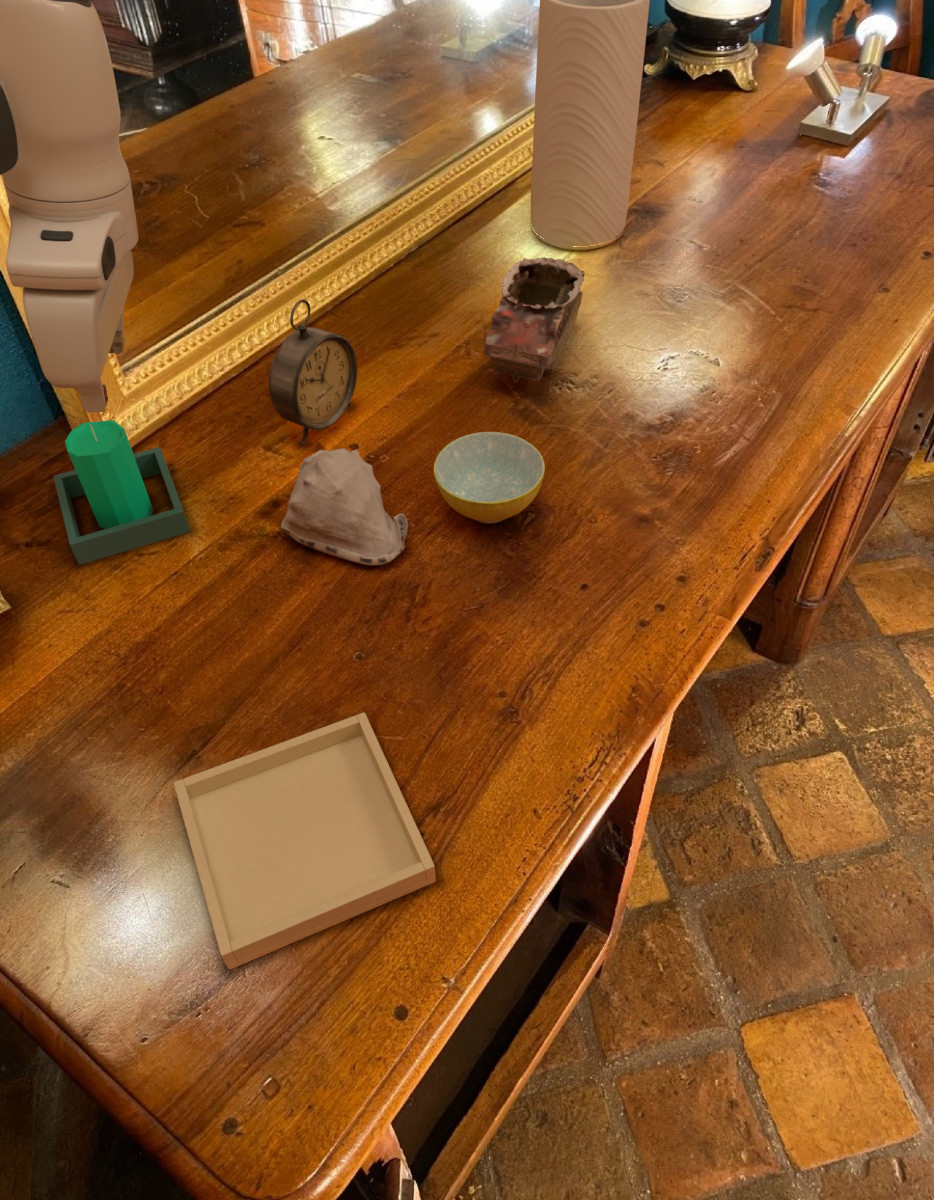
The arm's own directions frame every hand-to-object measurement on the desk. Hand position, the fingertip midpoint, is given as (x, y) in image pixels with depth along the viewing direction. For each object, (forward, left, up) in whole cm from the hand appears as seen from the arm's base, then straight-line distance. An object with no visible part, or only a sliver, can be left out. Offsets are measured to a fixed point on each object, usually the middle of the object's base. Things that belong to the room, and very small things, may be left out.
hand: (106, 377), depth 82 cm
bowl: (+33, -8, -22) cm, 40 cm away
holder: (-3, +8, -22) cm, 24 cm away
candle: (-3, +8, -22) cm, 24 cm away
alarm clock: (+21, +14, -22) cm, 34 cm away
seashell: (+19, -4, -22) cm, 29 cm away
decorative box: (+51, +14, -22) cm, 57 cm away
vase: (+71, +42, -22) cm, 85 cm away
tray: (+3, -37, -22) cm, 43 cm away
